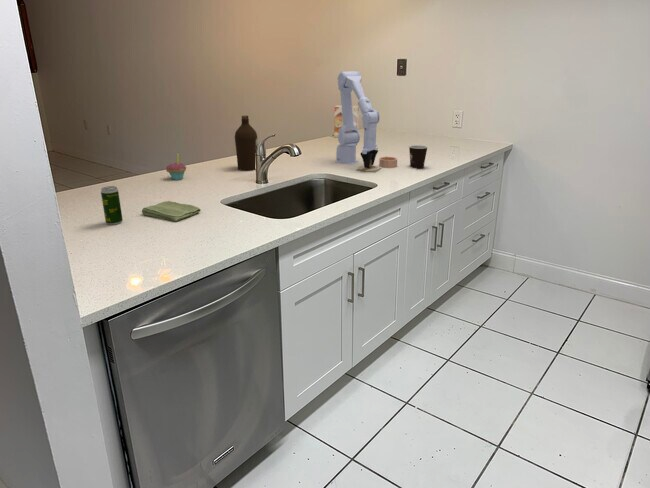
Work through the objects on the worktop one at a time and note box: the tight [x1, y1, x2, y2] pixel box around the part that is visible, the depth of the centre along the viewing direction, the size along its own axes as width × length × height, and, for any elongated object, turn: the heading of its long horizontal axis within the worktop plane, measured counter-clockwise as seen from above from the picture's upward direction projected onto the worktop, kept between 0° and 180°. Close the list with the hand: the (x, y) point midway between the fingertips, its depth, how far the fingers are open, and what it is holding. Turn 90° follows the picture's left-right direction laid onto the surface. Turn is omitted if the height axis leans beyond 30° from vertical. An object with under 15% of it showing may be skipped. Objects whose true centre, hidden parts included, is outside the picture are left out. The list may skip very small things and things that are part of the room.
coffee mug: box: [408, 144, 428, 170], centre depth 249 cm, size 12×9×10 cm
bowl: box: [378, 156, 398, 169], centre depth 250 cm, size 8×8×4 cm
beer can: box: [100, 185, 123, 226], centre depth 169 cm, size 5×5×12 cm
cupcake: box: [165, 152, 187, 181], centre depth 225 cm, size 9×8×12 cm
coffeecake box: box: [333, 104, 360, 138], centre depth 328 cm, size 15×7×20 cm, turn 80°
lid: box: [358, 159, 380, 173], centre depth 243 cm, size 10×10×5 cm
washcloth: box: [141, 200, 201, 223], centre depth 180 cm, size 13×18×3 cm
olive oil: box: [234, 114, 258, 172], centre depth 242 cm, size 11×11×25 cm
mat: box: [355, 167, 383, 174], centre depth 244 cm, size 10×10×1 cm
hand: (368, 166), depth 243 cm, fingers open, 5 cm apart
